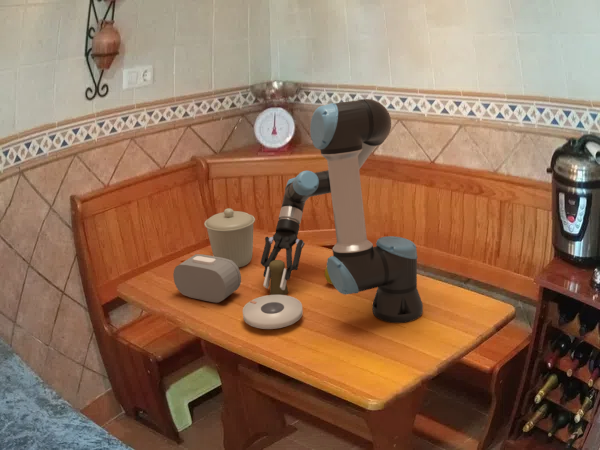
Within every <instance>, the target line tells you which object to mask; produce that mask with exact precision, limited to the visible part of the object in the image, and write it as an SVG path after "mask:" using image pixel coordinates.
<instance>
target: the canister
mask: <svg viewBox="0 0 600 450" xmlns="http://www.w3.org/2000/svg"><path fill="white" fill-rule="evenodd" d="M255 222H256V218H255V217H254V215H252V214H249V213H248V212H245V211H237V210H234V209H233V208H230V207H229V208H225V209H224V211H223V212H219V213H216V214H213V215H211V216H210V217H209V218H207V219H206V220H205V221H204V223H203V224H204V227H205V228H206V231H207V235H208V239H209V244H210V248H211V252H212V256H215V257H221V258H225V259H229V260H232V261H233V262H234V263H235V264H236V265H237V266H238V268H239V269H240V268H243V267H244V266H247V265H248V264H249V263H250V262H251V260H252V258H253V252H254V251H253V249H254V223H255Z"/></svg>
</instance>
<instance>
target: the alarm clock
mask: <svg viewBox="0 0 600 450" xmlns="http://www.w3.org/2000/svg"><path fill="white" fill-rule="evenodd" d="M173 282H174V285H175V287H176V289H177V290H178V292H179V293H181V294H182V295H183V296H186V297H189V298H192V299H197V300H201V301H204V302H210V303H214V304H218V303H220V302H222V301H224V300H225V299H227V298H228V297H229V296H230V295H232V294H233V293H234V292H235V291H237V290H238V289H239V288H240V287H241V284H242V274H241V270H240V267H239V268H238V266H237V265H236V264H235V263H234V262H233V261H232V260H229V259H225V258H221V257H215V256H213V255H208V254H196V253H195V254H194V255H192V256H191V257H189V258H187V259H186V260H185V261H183V262H181V263H180V264H178V265H176V266H175V267H174V269H173Z"/></svg>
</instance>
